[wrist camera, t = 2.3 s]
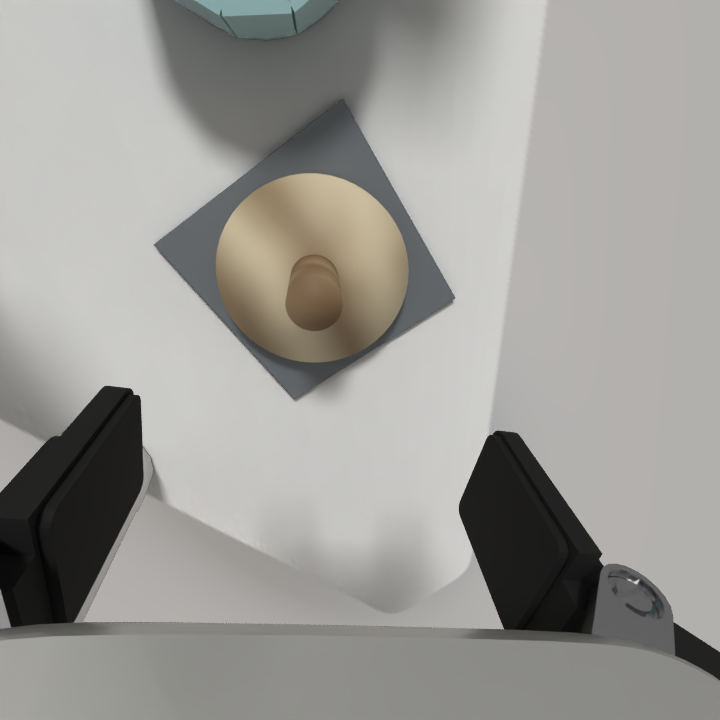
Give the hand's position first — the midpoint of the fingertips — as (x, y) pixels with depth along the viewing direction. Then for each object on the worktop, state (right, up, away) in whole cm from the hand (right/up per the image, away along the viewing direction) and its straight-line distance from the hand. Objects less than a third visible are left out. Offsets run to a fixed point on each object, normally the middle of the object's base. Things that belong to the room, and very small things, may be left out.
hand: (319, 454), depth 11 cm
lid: (-2, +8, +16) cm, 18 cm away
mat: (-2, +8, +16) cm, 18 cm away
